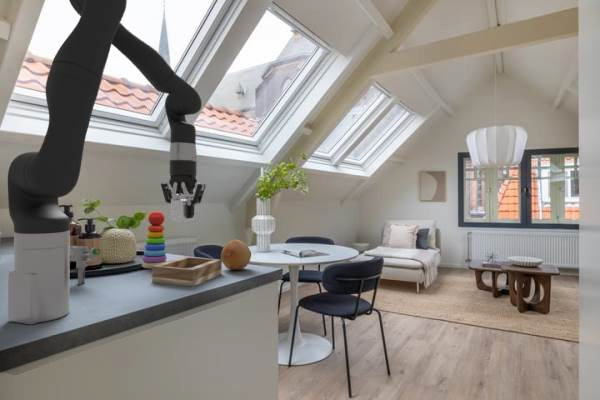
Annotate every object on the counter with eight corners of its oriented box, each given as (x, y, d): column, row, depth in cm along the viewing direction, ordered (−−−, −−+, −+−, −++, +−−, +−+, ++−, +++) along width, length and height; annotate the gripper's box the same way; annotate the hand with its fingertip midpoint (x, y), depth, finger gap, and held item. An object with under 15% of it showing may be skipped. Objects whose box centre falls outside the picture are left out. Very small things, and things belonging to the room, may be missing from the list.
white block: (183, 221, 103) (183, 200, 103) (170, 221, 104) (170, 200, 104) (194, 219, 109) (194, 199, 109) (182, 219, 110) (183, 199, 110)
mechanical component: (93, 286, 96) (93, 248, 96) (60, 283, 98) (60, 246, 98) (101, 283, 99) (101, 247, 99) (69, 280, 101) (69, 245, 101)
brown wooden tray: (192, 286, 98) (192, 270, 98) (152, 282, 102) (152, 266, 102) (221, 273, 113) (221, 259, 113) (185, 270, 117) (185, 256, 117)
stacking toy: (161, 269, 117) (162, 212, 117) (137, 269, 118) (138, 211, 117) (170, 264, 125) (171, 210, 125) (147, 264, 125) (148, 210, 125)
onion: (251, 273, 116) (251, 241, 115) (219, 273, 114) (220, 241, 114) (250, 266, 125) (251, 237, 125) (221, 267, 124) (221, 237, 123)
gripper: (153, 158, 104) (154, 218, 105) (197, 158, 100) (197, 220, 101) (169, 160, 111) (169, 216, 112) (211, 160, 108) (211, 217, 108)
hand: (183, 217), depth 107 cm, fingers closed on white block, 4 cm apart
